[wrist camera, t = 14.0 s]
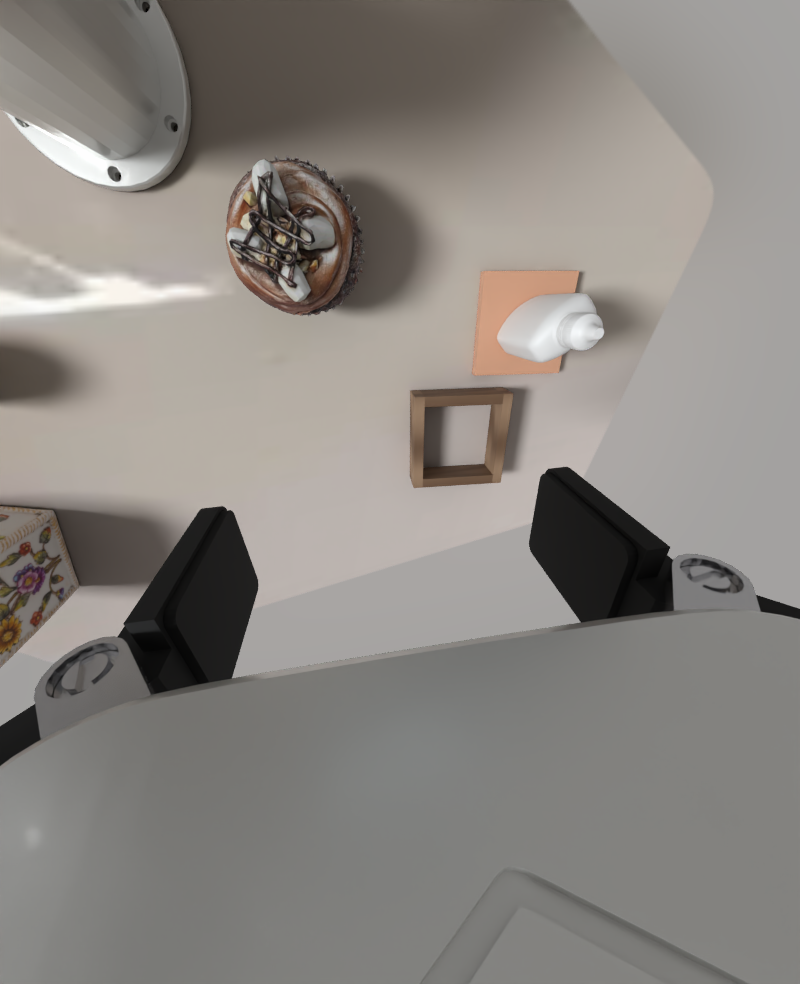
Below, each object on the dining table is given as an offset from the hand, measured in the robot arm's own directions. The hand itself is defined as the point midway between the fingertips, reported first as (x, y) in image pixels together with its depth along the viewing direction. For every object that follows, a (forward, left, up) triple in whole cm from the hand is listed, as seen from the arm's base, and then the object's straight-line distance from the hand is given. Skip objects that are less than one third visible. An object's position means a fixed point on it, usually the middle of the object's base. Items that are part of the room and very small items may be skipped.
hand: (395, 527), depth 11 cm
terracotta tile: (-4, +15, -28) cm, 32 cm away
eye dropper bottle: (-4, +15, -27) cm, 31 cm away
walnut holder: (+7, +9, -28) cm, 30 cm away
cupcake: (-10, -5, -28) cm, 30 cm away
